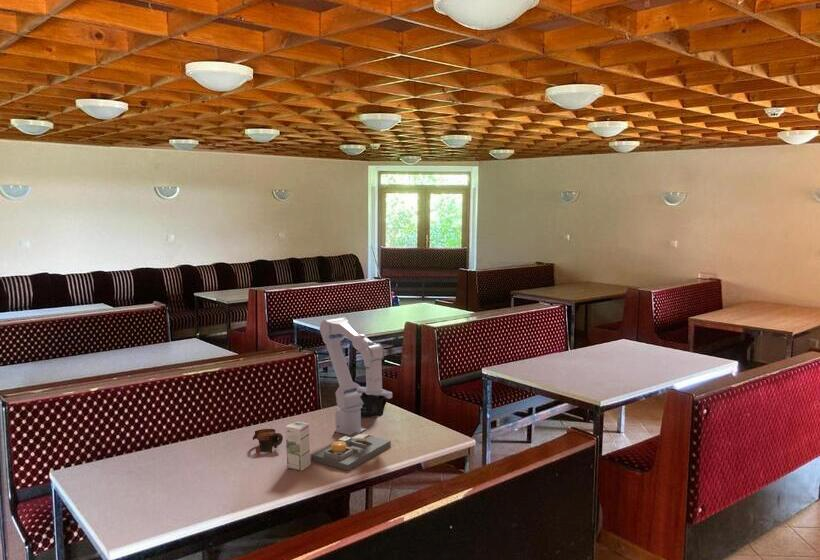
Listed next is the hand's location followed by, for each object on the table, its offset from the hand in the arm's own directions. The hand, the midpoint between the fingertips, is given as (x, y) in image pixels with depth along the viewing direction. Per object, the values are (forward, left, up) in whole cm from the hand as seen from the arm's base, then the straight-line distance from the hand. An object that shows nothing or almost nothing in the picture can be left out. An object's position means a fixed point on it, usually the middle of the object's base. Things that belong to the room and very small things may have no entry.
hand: (375, 414), depth 218 cm
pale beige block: (-4, -12, -8) cm, 15 cm away
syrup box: (-9, -30, -11) cm, 33 cm away
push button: (-1, -19, -7) cm, 20 cm away
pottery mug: (-29, -24, -11) cm, 40 cm away
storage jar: (-21, +23, -11) cm, 33 cm away
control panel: (-1, -12, -10) cm, 16 cm away
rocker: (-1, -6, -7) cm, 9 cm away
